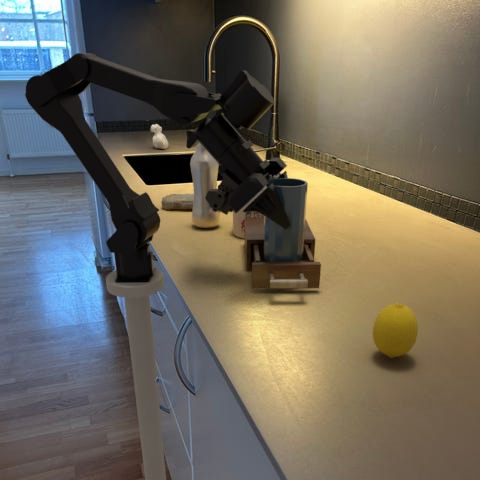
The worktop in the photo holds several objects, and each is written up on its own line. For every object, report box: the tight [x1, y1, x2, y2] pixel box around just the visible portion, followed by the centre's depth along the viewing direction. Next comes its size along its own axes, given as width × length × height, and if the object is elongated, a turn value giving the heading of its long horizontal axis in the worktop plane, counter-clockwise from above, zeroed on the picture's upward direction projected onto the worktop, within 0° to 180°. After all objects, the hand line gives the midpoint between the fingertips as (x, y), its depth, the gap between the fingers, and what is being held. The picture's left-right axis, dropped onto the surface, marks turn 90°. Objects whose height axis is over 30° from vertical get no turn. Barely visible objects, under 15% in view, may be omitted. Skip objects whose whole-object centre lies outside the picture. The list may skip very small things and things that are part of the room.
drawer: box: [251, 243, 322, 290], centre depth 89 cm, size 18×11×4 cm, turn 1°
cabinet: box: [243, 217, 316, 272], centre depth 101 cm, size 15×13×6 cm
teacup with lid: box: [232, 204, 264, 239], centre depth 114 cm, size 12×9×12 cm
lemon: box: [372, 302, 419, 359], centre depth 66 cm, size 6×6×8 cm
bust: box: [150, 123, 169, 150], centre depth 224 cm, size 12×8×11 cm
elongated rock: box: [160, 193, 194, 211], centre depth 136 cm, size 35×5×10 cm
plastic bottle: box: [189, 142, 221, 229], centre depth 116 cm, size 6×7×20 cm
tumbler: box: [263, 177, 309, 262], centre depth 86 cm, size 7×7×13 cm
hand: (292, 221), depth 86 cm, fingers closed on tumbler, 7 cm apart
